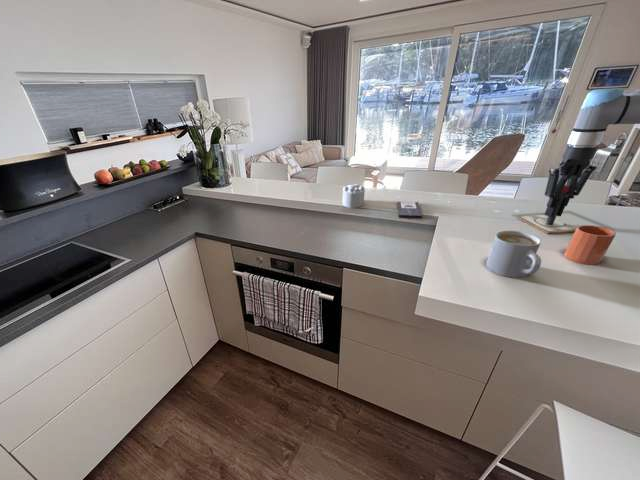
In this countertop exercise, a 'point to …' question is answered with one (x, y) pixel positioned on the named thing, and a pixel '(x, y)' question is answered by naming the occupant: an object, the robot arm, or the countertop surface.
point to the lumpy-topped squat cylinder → (353, 196)
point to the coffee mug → (514, 254)
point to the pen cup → (589, 244)
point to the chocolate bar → (409, 209)
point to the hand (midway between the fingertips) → (552, 215)
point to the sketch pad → (539, 223)
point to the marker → (551, 219)
